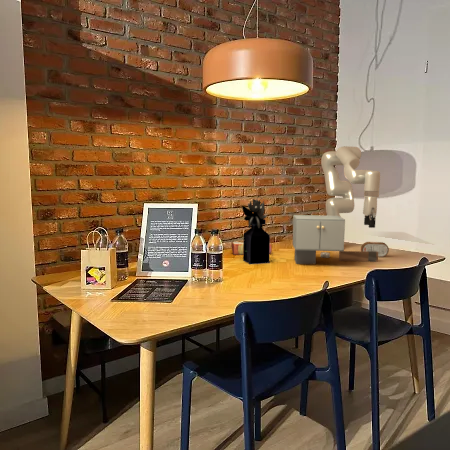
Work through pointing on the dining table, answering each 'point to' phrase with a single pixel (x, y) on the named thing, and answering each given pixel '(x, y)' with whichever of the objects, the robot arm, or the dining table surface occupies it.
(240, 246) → the snack package
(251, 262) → the vase
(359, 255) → the brown rectangular bar
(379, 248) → the tin
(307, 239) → the cabinet
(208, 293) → the dining table surface
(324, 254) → the puck
